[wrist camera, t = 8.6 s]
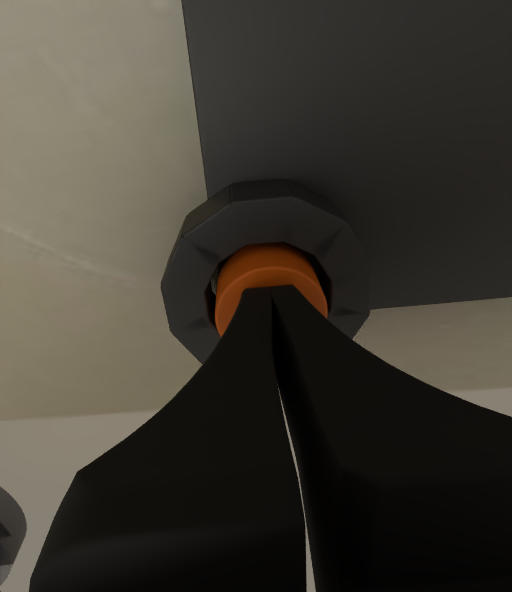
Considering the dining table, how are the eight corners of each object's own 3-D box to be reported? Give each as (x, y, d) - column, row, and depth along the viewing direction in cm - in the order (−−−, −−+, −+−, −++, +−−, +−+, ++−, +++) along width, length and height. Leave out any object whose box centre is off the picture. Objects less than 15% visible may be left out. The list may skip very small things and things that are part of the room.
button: (316, 235, 11) (329, 262, 10) (316, 323, 13) (326, 358, 11) (211, 245, 11) (207, 272, 10) (222, 331, 13) (221, 367, 11)
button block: (821, -93, 10) (1025, -147, 7) (639, 293, 16) (721, 339, 13) (120, -38, 10) (81, -73, 7) (190, 334, 16) (182, 388, 13)
